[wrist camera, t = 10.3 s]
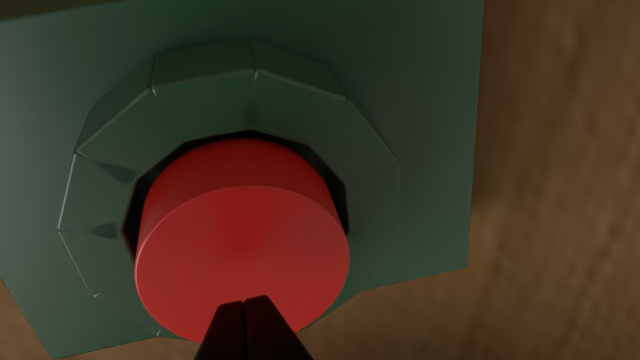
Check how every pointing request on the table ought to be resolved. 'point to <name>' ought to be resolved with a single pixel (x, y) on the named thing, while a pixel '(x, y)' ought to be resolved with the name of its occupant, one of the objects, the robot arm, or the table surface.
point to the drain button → (238, 236)
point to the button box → (225, 135)
